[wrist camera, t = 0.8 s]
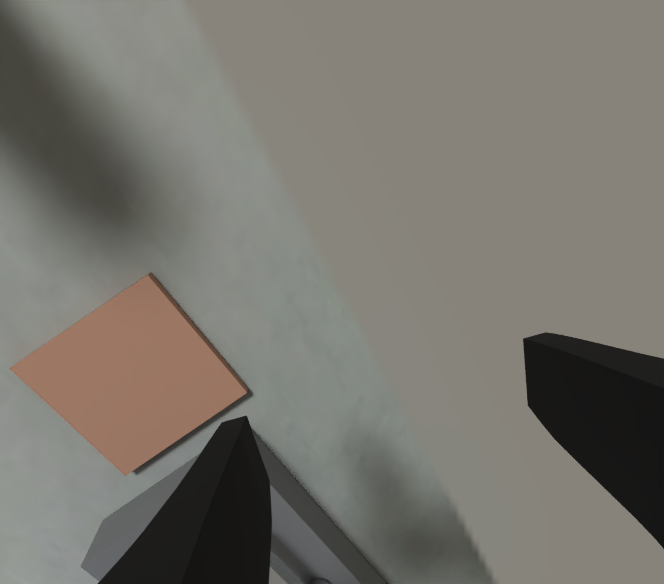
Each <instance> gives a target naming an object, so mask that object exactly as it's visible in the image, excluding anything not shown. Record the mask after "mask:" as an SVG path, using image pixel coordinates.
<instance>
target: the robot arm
mask: <svg viewBox="0 0 664 584" xmlns="http://www.w3.org/2000/svg"><path fill="white" fill-rule="evenodd" d="M523 343H524V356H525V371H526V384H527V400H528V406H529V408H530V409H531V410H532V411H533V413H534V414H535V415H536V417H537V418H538V419H539V420H540V422H541V423H542V424H543V426H544V427H545V428H546V429H547V430H548V432H549V433H550V434H551V435H552V436H553V438H554V439H555V440H556V441H557V442H558V443H559V444H560V445H561V446H562V447H563V448H564V449H565V450H566V451H567V452H568V453H569V454H570V455H571V456H572V457H573V458H574V459H575V460H576V461H577V462H578V463H579V464H580V465H581V466H582V467H583V468H584V469H586V471H587V472H588V473H590V474H591V475H592V476H593V477H594V478H595V479H596V480H597V481H598V482H599V483H600V484H601V485H602V486H603V487H604V488H605V489H606V490H607V491H608V492H609V493H610V494H611V495H612V496H613V497H614V498H615V499H616V500H617V501H618V502H620V503H621V505H623V506H624V507H625V508H626V509H627V510H628V511H629V512H630V513H631V514H632V515H633V516H634V517H635V518H636V519H637V520H638V521H639V522H640V523H641V524H642V525H643V526H644V527H645V529H647V531H648V532H649V533H650V534H652V536H653V537H654V538H655V539H656V540H657V541H658V542H659V544H660V545H661V546H662V547H663V548H664V359H662V358H658V357H654V356H649V355H645V354H640V353H636V352H632V351H627V350H624V349H619V348H615V347H611V346H607V345H603V344H599V343H594V342H590V341H586V340H582V339H577V338H573V337H568V336H564V335H558V334H553V333H542V334H538V335H535V336H531V337H528V338H524V339H523ZM271 536H272V509H271V492H270V480H269V477H268V474H267V471H266V468H265V466H264V463H263V460H262V457H261V454H260V452H259V449H258V446H257V443H256V440H255V438H254V435H253V432H252V429H251V426H250V424H249V421H248V418H247V416H243V417H240V418H236V419H233V420H229V421H225V422H222V423H221V425H220V426H219V427H218V429H217V430H216V432H215V433H214V434H213V436H212V437H211V439H210V440H209V442H208V443H207V445H206V446H205V448H204V449H203V451H202V452H201V454H200V455H199V457H198V458H197V459H196V461H195V462H194V464H193V465H192V467H191V468H190V469H189V471H188V472H187V474H186V475H185V477H184V478H183V479H182V481H181V482H180V484H179V485H178V486H177V488H176V489H175V491H174V492H173V493H172V494H171V496H170V497H169V498H168V500H167V501H166V502H165V504H164V505H163V506H162V507H161V509H160V510H159V511H158V513H157V514H156V515H155V517H154V518H153V519H152V520H151V522H150V523H149V524H148V526H147V527H146V528H145V530H144V531H143V532H142V533H141V534H140V536H139V537H138V538H137V539H136V541H135V542H134V543H133V544H132V545H131V546H130V548H129V549H128V550H127V551H126V552H125V554H124V555H123V556H122V557H121V558H120V559H119V560H118V561H117V563H116V564H115V565H114V566H113V567H112V568H111V569H110V570H109V572H108V573H107V574H106V575H105V576H104V577H103V578H102V579H101V580H100V582H99V583H98V584H269V572H270V554H271Z"/></svg>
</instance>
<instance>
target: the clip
mask: <svg viewBox="0 0 664 584" xmlns="http://www.w3.org/2000/svg"><path fill="white" fill-rule="evenodd" d="M269 584H303V583H302V582H301V581H300V580H299V579H298V578H297V577H296V576H295V575H294V574H293V573H292V572H291V571H290V570H289V569H288V568H287V567H286V566H285V565H284V564H283V563H282V562H281V561H280V560H279V559H278V558H277V557H276V556H275V555H274V554H273V553H272V552H271V554H270V572H269ZM308 584H329V583H328V582H326V581H325V580H320V579H319V580H313V581H311V582H309V583H308Z"/></svg>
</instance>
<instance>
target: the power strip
mask: <svg viewBox="0 0 664 584" xmlns="http://www.w3.org/2000/svg"><path fill="white" fill-rule="evenodd" d="M252 432H253V435H254V438H255V440H256V443H257V446H258V449H259V452H260V454H261V457H262V460H263V463H264V466H265V468H266V471H267V474H268V477H269V480H270V492H271V509H272V536H271V552H272V553H273V554H274V555H275V556H276V557H277V558H278V559H279V560H280V561H281V562H282V563H283V564H284V565H285V566H286V567H287V568H288V569H289V570H290V571H291V572H292V573H293V574H294V575H295V576H296V577H297V578H298V579H299V580H300V581H301V582H302V583H303V584H308V583H309V582H311V581H313V580H319V579H320V580H325V581H326V582H328V583H329V584H387V583H386V582H385V581H384V580H383V579H382V577H381V576H380V575H379V574H378V573H377V572H376V571H375V569H374V568H373V567H372V566H371V565H370V564H369V563H368V562H367V560H366V559H365V558H364V557H363V556H362V555H361V554H360V552H359V551H358V550H357V549H356V548H355V547H354V546H353V544H352V543H351V542H350V541H349V540H348V539H347V538H346V536H345V535H344V534H343V533H342V532H341V531H340V530H339V528H338V527H337V526H336V525H335V524H334V523H333V522H332V520H331V519H330V518H329V517H328V516H327V515H326V514H325V512H324V511H323V510H322V509H321V508H320V507H319V506H318V504H317V503H316V502H315V501H314V500H313V499H312V498H311V496H310V495H309V494H308V493H307V492H306V491H305V490H304V489H303V487H302V486H301V485H300V484H299V483H298V482H297V481H296V479H295V478H294V477H293V476H292V475H291V474H290V473H289V471H288V470H287V469H286V468H285V467H284V466H283V465H282V463H281V462H280V461H279V460H278V459H277V458H276V457H275V455H274V454H273V453H272V452H271V451H270V450H269V449H268V447H267V446H266V445H265V444H264V443H263V442H262V441H261V439H260V438H259V437H258V436H257V435H256V434H255V433H254V431H253V430H252ZM199 455H200V454H199ZM199 455H198V456H196V457H195V458H193V459H192V460H190V461H189V462H187V463H186V464H185V465H183V466H182V467H180V468H179V469H177V470H176V471H174V472H173V473H171V474H170V475H168V476H167V477H166V478H164V479H163V480H161V481H160V482H158V483H157V484H155V485H154V486H152V487H151V488H149V489H148V490H147V491H145V492H144V493H142V494H141V495H139V496H138V497H136V498H135V499H133V500H132V501H130V502H129V503H128V504H126V505H125V506H123V507H122V508H120V509H119V510H117V511H116V512H114V513H113V514H111V515H110V516H108V517H107V518H106V519H104V520H103V521H102V523H101V525H100V528H99V530H98V532H97V534H96V536H95V538H94V540H93V542H92V544H91V546H90V548H89V550H88V552H87V554H86V556H85V558H84V561H83V563H82V565H81V567H82V568H83V569H84V570H86V571H87V572H88V573H89V574H91V575H92V576H93V577H94V578H96V579H97V580H98V581H100V580H101V579H102V578H103V577H104V576H105V575H106V574H107V573H108V572H109V570H110V569H111V568H112V567H113V566H114V565H115V564H116V563H117V561H118V560H119V559H120V558H121V557H122V556H123V555H124V554H125V552H126V551H127V550H128V549H129V548H130V546H131V545H132V544H133V543H134V542H135V541H136V539H137V538H138V537H139V536H140V534H141V533H142V532H143V531H144V530H145V528H146V527H147V526H148V524H149V523H150V522H151V520H152V519H153V518H154V517H155V515H156V514H157V513H158V511H159V510H160V509H161V507H162V506H163V505H164V504H165V502H166V501H167V500H168V498H169V497H170V496H171V494H172V493H173V492H174V491H175V489H176V488H177V486H178V485H179V484H180V482H181V481H182V479H183V478H184V477H185V475H186V474H187V472H188V471H189V469H190V468H191V467H192V465H193V464H194V462H195V461H196V459H197V458H198V457H199Z"/></svg>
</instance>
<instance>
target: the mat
mask: <svg viewBox="0 0 664 584" xmlns="http://www.w3.org/2000/svg"><path fill="white" fill-rule="evenodd" d="M9 369H10V370H11V371H13V372H14V373H15V374H16V375H17V376H18V377H19V378H20V379H21V380H22V381H23V382H24V383H26V384H27V385H28V386H29V387H30V388H31V389H32V390H33V391H34V392H35V393H36V394H37V395H38V396H40V397H41V398H42V399H43V400H44V401H45V402H46V403H47V404H48V405H49V406H50V407H51V408H52V409H54V410H55V411H56V412H57V413H58V414H59V415H60V416H61V417H62V418H63V419H64V420H65V421H67V422H68V423H69V424H70V425H71V426H72V427H73V428H74V429H75V430H76V431H77V432H78V433H79V434H81V435H82V436H83V437H84V438H85V439H86V440H87V441H88V442H89V443H90V444H91V445H92V446H93V447H95V448H96V449H97V450H98V451H99V452H100V453H101V454H102V455H103V456H104V457H105V458H106V459H108V460H109V461H110V462H111V463H112V464H113V465H114V466H115V467H116V468H117V469H118V470H119V471H120V472H122V473H123V474H124V475H125V476H126V475H128V474H129V473H130V472H132V471H133V470H135V469H136V468H138V467H139V466H141V465H142V464H144V463H145V462H147V461H148V460H149V459H151V458H152V457H154V456H155V455H157V454H158V453H160V452H161V451H163V450H164V449H166V448H167V447H169V446H170V445H171V444H173V443H174V442H176V441H177V440H179V439H180V438H182V437H183V436H185V435H186V434H188V433H189V432H191V431H192V430H193V429H195V428H196V427H198V426H199V425H201V424H202V423H204V422H205V421H207V420H208V419H210V418H211V417H212V416H214V415H215V414H217V413H218V412H220V411H221V410H223V409H224V408H226V407H227V406H229V405H230V404H232V403H233V402H234V401H236V400H237V399H239V398H240V397H242V396H243V395H245V394H246V393H247V389H248V388H247V386H246V385H245V384H244V383H243V382H242V380H241V379H240V378H239V377H238V376H237V375H236V373H235V372H234V371H233V370H232V369H231V367H230V366H229V365H228V364H227V363H226V361H225V360H224V359H223V358H222V357H221V355H220V354H219V353H218V352H217V351H216V350H215V348H214V347H213V346H212V345H211V344H210V342H209V341H208V340H207V339H206V338H205V336H204V335H203V334H202V333H201V332H200V331H199V329H198V328H197V327H196V326H195V325H194V323H193V322H192V321H191V320H190V319H189V317H188V316H187V315H186V314H185V313H184V312H183V310H182V309H181V308H180V307H179V306H178V304H177V303H176V302H175V301H174V300H173V298H172V297H171V296H170V295H169V294H168V292H167V291H166V290H165V289H164V288H163V287H162V285H161V284H160V283H159V282H158V281H157V279H156V278H155V277H154V276H153V275H152V273H149V274H148V275H146V276H145V277H143V278H142V279H140V280H139V281H138V282H136V283H135V284H133V285H132V286H130V287H129V288H127V289H126V290H124V291H123V292H121V293H120V294H118V295H117V296H115V297H114V298H112V299H111V300H110V301H108V302H107V303H105V304H104V305H102V306H101V307H99V308H98V309H96V310H95V311H93V312H92V313H90V314H89V315H87V316H86V317H84V318H83V319H82V320H80V321H79V322H77V323H76V324H74V325H73V326H71V327H70V328H68V329H67V330H65V331H64V332H62V333H61V334H59V335H58V336H56V337H55V338H54V339H52V340H51V341H49V342H48V343H46V344H45V345H43V346H42V347H40V348H39V349H37V350H36V351H34V352H33V353H31V354H30V355H28V356H27V357H25V358H24V359H23V360H21V361H20V362H18V363H17V364H15V365H14V366H12V367H11V368H9Z"/></svg>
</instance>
